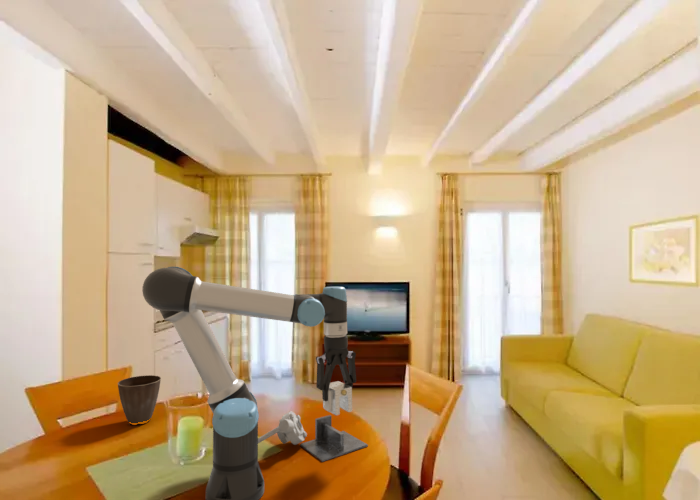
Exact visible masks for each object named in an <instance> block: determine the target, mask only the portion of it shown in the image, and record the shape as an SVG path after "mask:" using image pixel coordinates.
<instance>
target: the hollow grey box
mask: <svg viewBox="0 0 700 500" xmlns="http://www.w3.org/2000/svg"><path fill="white" fill-rule="evenodd" d="M329 390H330V391H331V412H330V413H331V414H332V415H334V416H339V415H340V414H341V412H340V411H341V409H342V410H344V411H345V412H348V413H351V412H353V386H352V387H351V386H348V385H346V384H345V382H343V381H342V382H341V381H339V380H337V381H332V382H330V385H329ZM322 408H323V409H324V410H325V401H324V400H323V399H322ZM340 408H341V409H340Z"/></svg>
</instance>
